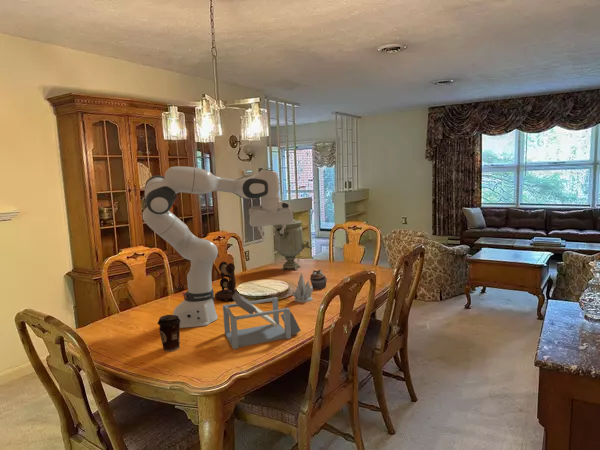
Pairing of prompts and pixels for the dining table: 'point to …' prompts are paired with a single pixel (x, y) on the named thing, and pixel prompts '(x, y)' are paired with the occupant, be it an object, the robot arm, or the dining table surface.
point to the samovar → (290, 242)
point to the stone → (292, 324)
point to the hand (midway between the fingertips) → (272, 234)
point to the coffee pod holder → (227, 282)
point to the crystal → (303, 291)
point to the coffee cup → (170, 332)
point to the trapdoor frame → (256, 333)
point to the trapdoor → (251, 307)
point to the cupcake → (318, 280)
